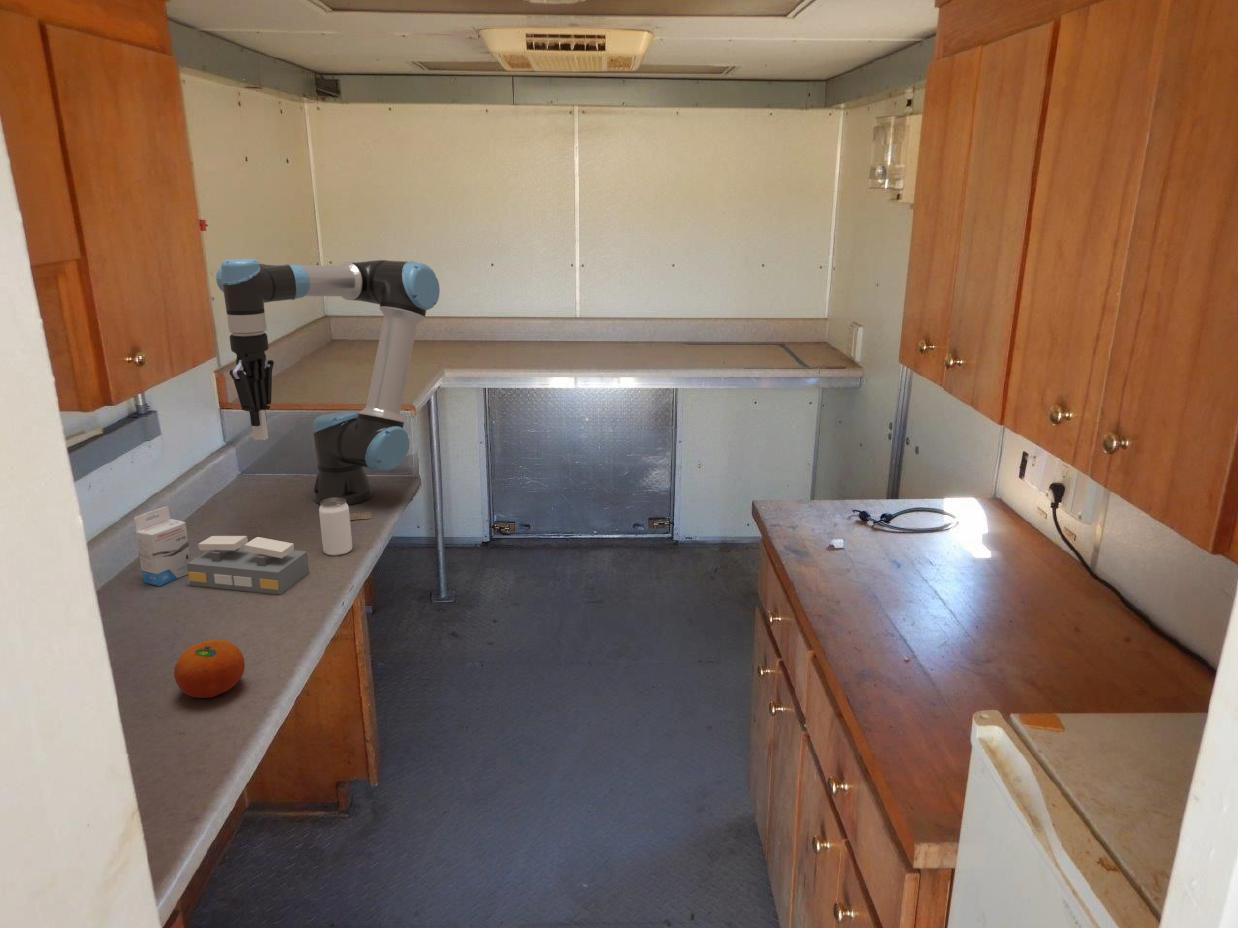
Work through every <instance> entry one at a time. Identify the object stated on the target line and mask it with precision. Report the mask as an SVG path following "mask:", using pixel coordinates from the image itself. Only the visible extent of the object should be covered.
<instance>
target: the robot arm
mask: <svg viewBox="0 0 1238 928" xmlns="http://www.w3.org/2000/svg"><path fill="white" fill-rule="evenodd" d="M215 277H216V278H215V280H216V284H217V287H218V288H219V290H220V291H221V292H222V293H223V296H224V297H223V298H224V303H225V310H226V318H227V326H228V331H229V333H230V335H229V342H230V350H231V352H232V353H234V354H236V359H235V363H236V366H235V368H234V369H230V370H229V375H230V377H231V379H232V380H233V382H234V386H235V390H236V393H237V397H238V400H239V403H240V407H241V410H242V411H244V412H248V413H249V418H250V425H251V430H252V431H251V432H252V436H253V439H252V440H257V441H258V440H259V441H261V440H262V441H265V440H268V439H269V434H268V433H269V431H268V425H267V424H268V423H267V412H266V410H270V409H271V406H270V405H271V404H272V392H273V391H272V390H273V389H272V385H273V384H272V383H273V368H274V364H275V363H274V360H272V359H268V358H267V355H266V353H265V352H267V351H269V339H268V334H267V333H266V331H267V330H268V327H267V320H266V315H265V314H266V313H265V303H271V302H272V303H273V302H279V301H281V302H282V301H290V300H291V301H295V300H297V299H302V298H304V297H341V298H342V299H344V300H345V301H359V302H366V303H370V304H373V305H374V304H375V305H379V310H380V312H381V313H382V314H383V319H382V325H381V330H380V335H379V339H378V345H377V349H376V355H375V360H374V365H373V369H372V376H371V380H370V385H369V391H368V393H367V394H368V396H367V400H366V406H365V407H364V408H363V409H361V410H360V411H359V412H358V411H356V410H345V411H344V410H343V411H337V412H335V411H334V412H330V413H326V414H322V415H319V416H317V417H316V418H315V419H314V421H313V432H312V434H313V441H314V448H315V449H314V450H315V457H316V465H317V467H316V468H317V474H316V478H315V482H314V487H313V491H312V494H313V500H314V502H315V503H317V504H319V505H321V504H320V502H321V501H323V500H325V499H329V498H343V499H345V500H346V503H347V505H348V506H349V505H355V504H358V503H362V502H364V501H367V500H369V499H370V498H371V497H372V495H373V490H372V485H371V483H370V480H369V478H368V475H367V473H366V471H365V469H364V468H369V469H371V470H375V471H379V470H380V471H390V470H394V469H396V468H397V467H399V465H401V464H402V463H403V462H404V461H405V459H406V458H407V455H408V453H409V449H410V443H411V442H410V438H409V434H408V432H407V431H406V430H405V428H404V424H405V420H404V419H403V417H402V416H401V408H402V404H403V403H402V402H403V401H404V400H403V398H404V393H405V390H406V389H405V388H406V385H407V380H408V379H407V378H408V375H409V373H408V372H409V369H410V364H411V359H412V353H413V348H414V345H415V338H416V333H417V328H418V324H420V323H422V321H424V320H425V318H426V314H427V311H428V310H430V309H433V308H434V307H435V305H437V303H438V301H439V298H440V292H441V291H440V282H439V279H438V277H437V275H436V273H435V271H434V270H433V268H431V267H430V266H429V265H427V264H425V263H424V262H423V263H422V262H417V261H416V262H415V261H414V260H413V261H412V260H410V261H402V260H398V261H396V260H384V259H378V260H367V261H358V262H343V263H341V264H340V265H318V264H315V265H314V264H313V265H312V264H311V265H310V264H287V263H286V264H281V263H274V264H273V263H259V261H258V260H257V259H255V258H230V259H229V258H228V259H224V260H223V261H222V262H221V266H219V268H218V269H217V272H216V276H215Z"/></svg>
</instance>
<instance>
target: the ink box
mask: <svg viewBox="0 0 1238 928" xmlns="http://www.w3.org/2000/svg"><path fill="white" fill-rule="evenodd" d="M170 515H171V514H170V508H169V506H168V505H166V506H163V507H160V508H157V509H154V510H151V511H148V512H145V513H142V514H140V515H136V516H135V517H134V518H133V519H134V526H135V527H134V528H135V537H136V544H137V550H138V555H139V563H140V568H141V574H142V580H143V583H145V584H148V585H153V586H157V587H161V586H164V585H165V584H168V583H171V582H173V581H176V580H177V579H180V578H182V577H184V576H187V575H188V569H187V563H188V562H190V561H192V560H191V559H192V558H191V552H190V546H189V537H188V531H187V525H186V522H185V521H182V520H177V519H173V518H171V516H170ZM152 516H153V517H154V516H157V517H154V518H152V519H150V520H147V519H149V518H150V517H152Z"/></svg>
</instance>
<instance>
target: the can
mask: <svg viewBox="0 0 1238 928" xmlns="http://www.w3.org/2000/svg"><path fill="white" fill-rule="evenodd" d="M319 505H320V506H319V508H318V509H319V510H318V514H319V523H320V534H321V541H322V551H323V552H324V554H326V555H327V556H333V557H334V556H337V557H338V556H343V555H346V554H348V553H350V552H351V551H352V550H353V539H352V527H351V517H350V516H351V515H350V507H349V505H347V503H346V500H345V499H343V498H329V499H325V500H323V501H321V502H320V504H319Z"/></svg>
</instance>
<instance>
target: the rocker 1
mask: <svg viewBox="0 0 1238 928" xmlns="http://www.w3.org/2000/svg"><path fill="white" fill-rule="evenodd" d="M248 542H249V539H248V536H247V535H211V536H209V537H208V538H206V539H204V540H203V541H201V542H199V543H198V545H197V546H198V549H199V551H208V550H214V552H220V553H221V555H222V554H224V553H226V552H227V551H229V550H236V549H238V548H240V547H241V546H244V545H245V544H247V543H248Z"/></svg>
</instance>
